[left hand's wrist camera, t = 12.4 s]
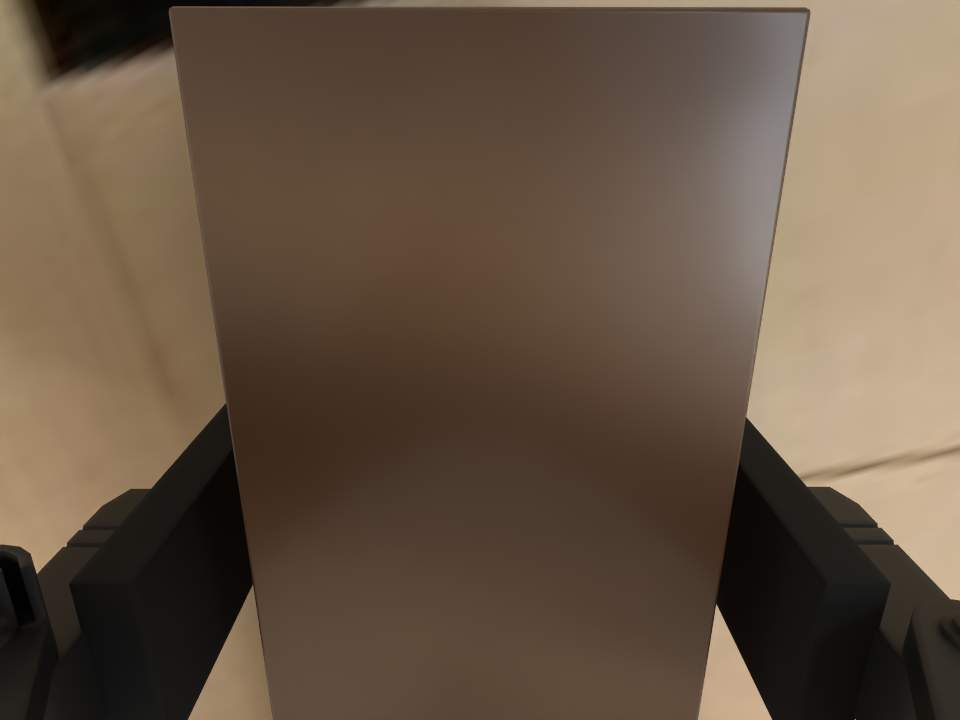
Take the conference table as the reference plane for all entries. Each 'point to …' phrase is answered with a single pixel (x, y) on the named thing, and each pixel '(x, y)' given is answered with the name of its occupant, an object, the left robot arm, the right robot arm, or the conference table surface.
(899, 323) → the conference table surface
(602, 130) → the beam
